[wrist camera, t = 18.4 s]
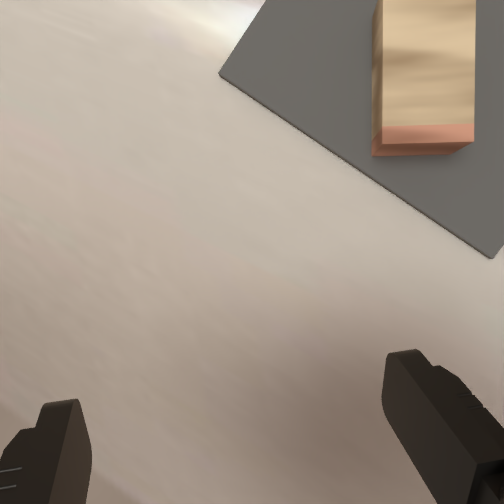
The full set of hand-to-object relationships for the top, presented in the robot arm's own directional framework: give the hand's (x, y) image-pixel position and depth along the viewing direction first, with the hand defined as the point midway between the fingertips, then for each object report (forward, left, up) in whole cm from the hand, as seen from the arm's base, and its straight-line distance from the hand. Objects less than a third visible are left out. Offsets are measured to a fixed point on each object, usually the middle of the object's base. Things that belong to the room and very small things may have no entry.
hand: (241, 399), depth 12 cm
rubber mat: (-1, +17, -20) cm, 26 cm away
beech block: (-4, +20, -17) cm, 27 cm away
